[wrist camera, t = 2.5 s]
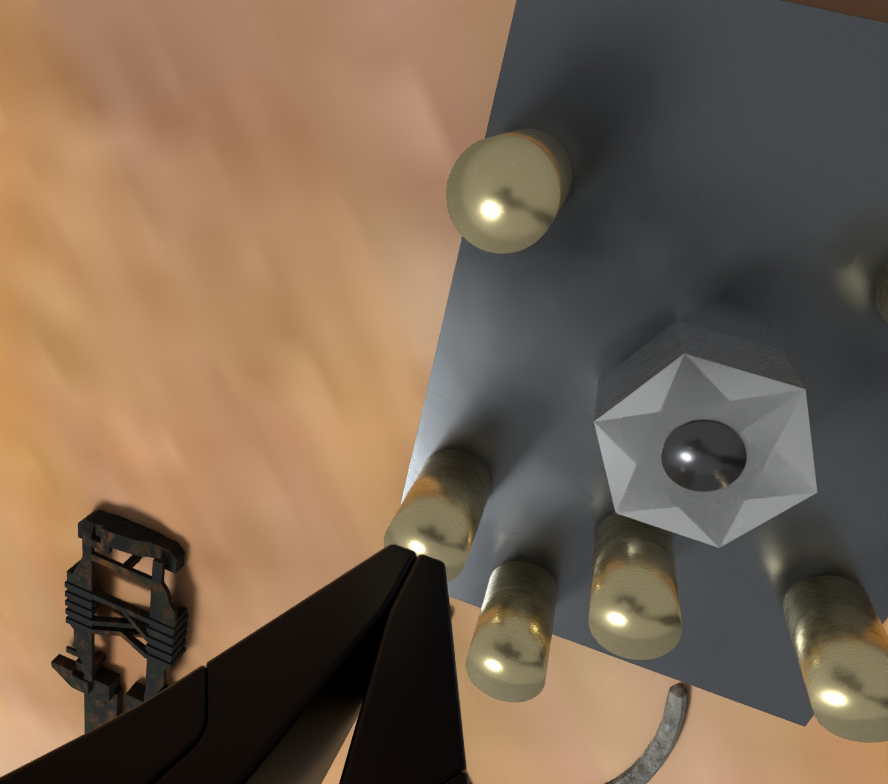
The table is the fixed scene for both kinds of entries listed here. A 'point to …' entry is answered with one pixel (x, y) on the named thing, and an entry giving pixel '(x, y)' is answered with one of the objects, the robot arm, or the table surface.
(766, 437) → the nut
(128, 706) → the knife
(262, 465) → the table surface
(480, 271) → the spacer plate
